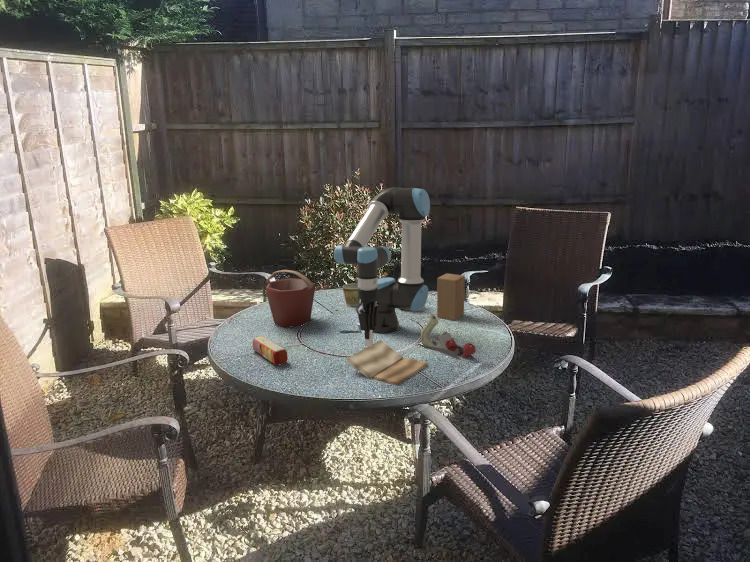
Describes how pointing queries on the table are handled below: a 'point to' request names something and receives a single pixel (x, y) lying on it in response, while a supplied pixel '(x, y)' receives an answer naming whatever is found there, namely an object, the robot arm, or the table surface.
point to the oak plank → (401, 371)
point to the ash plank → (374, 359)
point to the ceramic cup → (351, 294)
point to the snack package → (270, 350)
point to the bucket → (290, 299)
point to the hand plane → (445, 342)
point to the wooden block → (450, 296)
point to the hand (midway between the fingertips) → (368, 345)
